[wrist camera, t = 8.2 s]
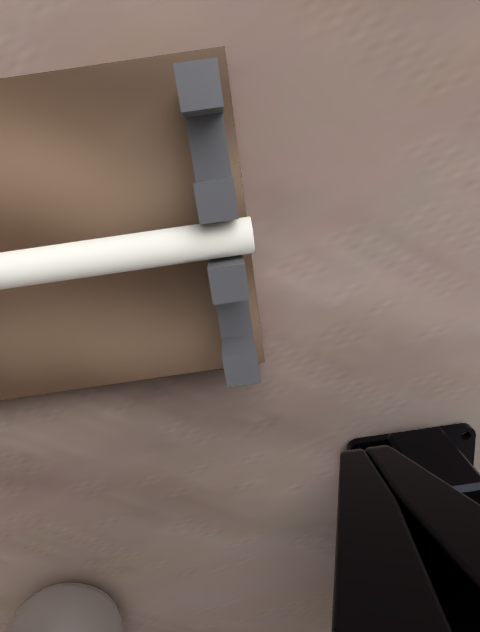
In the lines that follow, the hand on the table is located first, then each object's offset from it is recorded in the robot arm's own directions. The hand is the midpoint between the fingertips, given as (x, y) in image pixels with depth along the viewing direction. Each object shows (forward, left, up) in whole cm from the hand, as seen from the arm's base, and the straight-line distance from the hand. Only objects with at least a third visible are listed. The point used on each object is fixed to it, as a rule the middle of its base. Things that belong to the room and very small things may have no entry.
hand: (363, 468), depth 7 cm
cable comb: (+3, +2, -11) cm, 11 cm away
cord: (+3, +11, -9) cm, 14 cm away
